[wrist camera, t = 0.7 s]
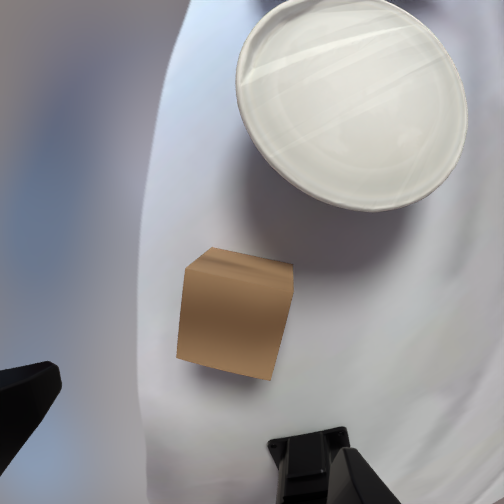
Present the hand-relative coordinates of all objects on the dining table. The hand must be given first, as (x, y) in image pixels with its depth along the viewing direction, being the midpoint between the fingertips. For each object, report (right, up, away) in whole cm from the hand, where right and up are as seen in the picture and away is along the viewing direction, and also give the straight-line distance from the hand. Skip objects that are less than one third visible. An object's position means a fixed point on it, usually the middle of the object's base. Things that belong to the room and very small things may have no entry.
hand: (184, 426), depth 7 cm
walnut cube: (+1, +2, +12) cm, 12 cm away
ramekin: (+7, +13, +9) cm, 17 cm away
